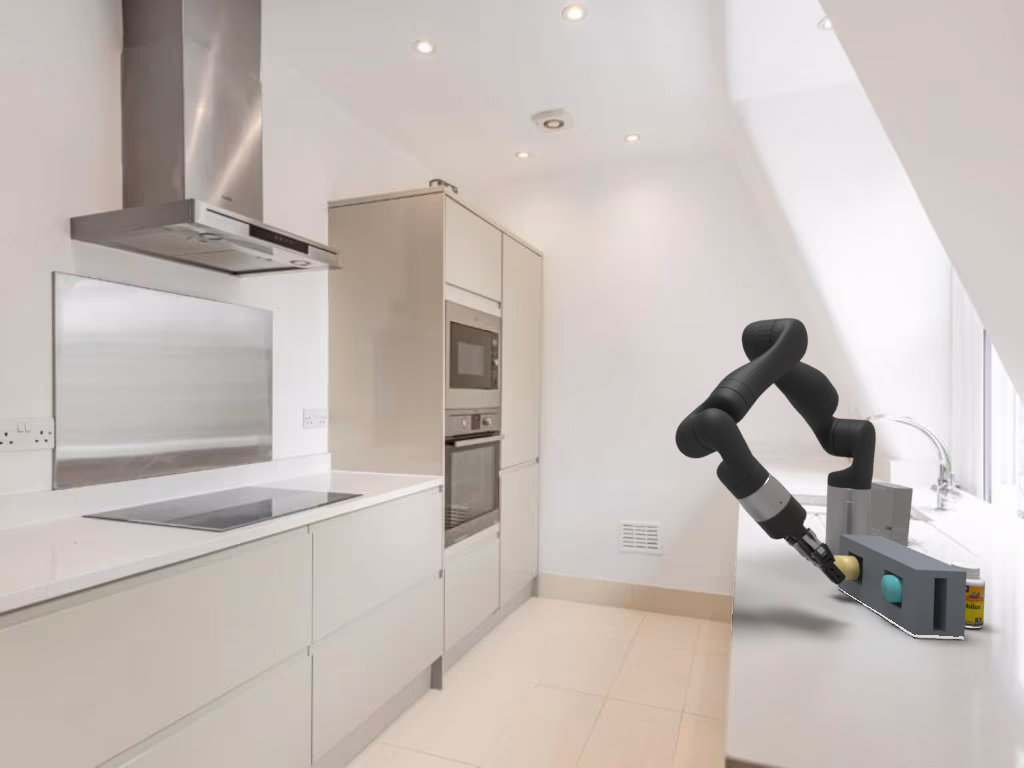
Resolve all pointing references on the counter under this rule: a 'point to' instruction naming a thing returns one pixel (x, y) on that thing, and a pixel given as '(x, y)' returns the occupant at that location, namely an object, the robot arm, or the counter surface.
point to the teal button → (892, 588)
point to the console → (907, 585)
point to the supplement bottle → (973, 594)
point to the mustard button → (848, 566)
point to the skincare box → (891, 511)
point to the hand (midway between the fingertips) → (839, 580)
